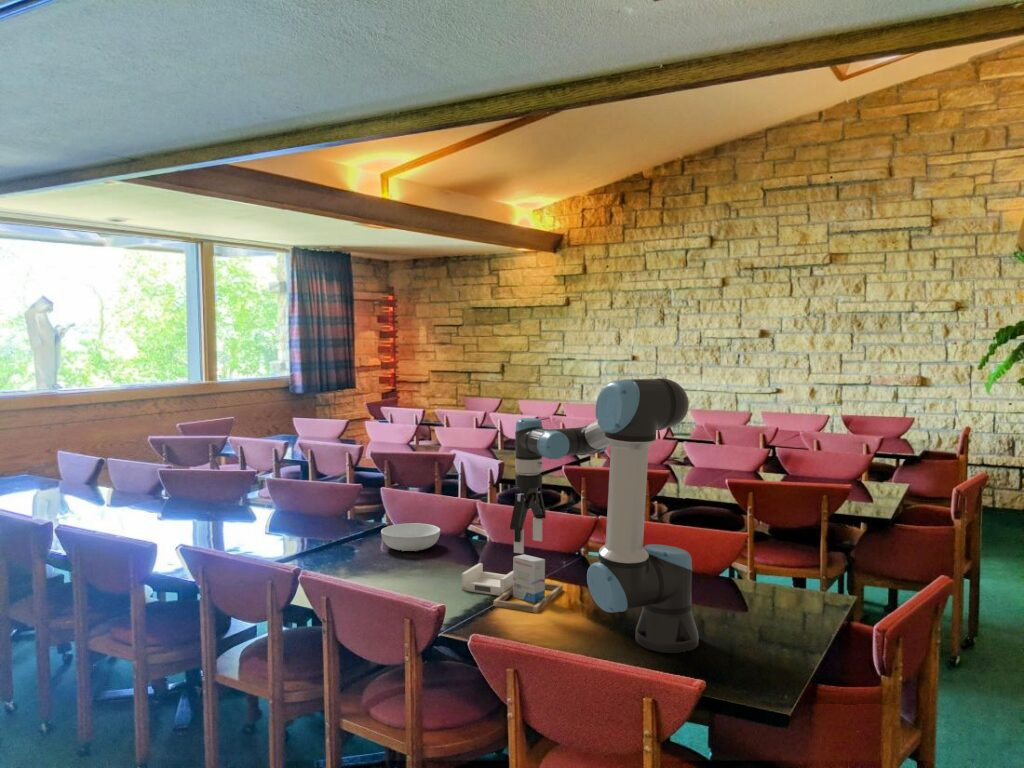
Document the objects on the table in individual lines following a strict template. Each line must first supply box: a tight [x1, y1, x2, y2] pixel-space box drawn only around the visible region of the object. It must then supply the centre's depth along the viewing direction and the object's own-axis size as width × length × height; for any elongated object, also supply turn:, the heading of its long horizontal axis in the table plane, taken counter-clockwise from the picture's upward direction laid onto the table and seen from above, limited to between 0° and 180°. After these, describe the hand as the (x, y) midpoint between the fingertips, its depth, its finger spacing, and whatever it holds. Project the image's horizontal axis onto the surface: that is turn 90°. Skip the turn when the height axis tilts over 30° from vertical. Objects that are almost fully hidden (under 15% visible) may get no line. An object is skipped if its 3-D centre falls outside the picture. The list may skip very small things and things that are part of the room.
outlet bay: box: [461, 562, 513, 597], centre depth 224 cm, size 12×14×5 cm
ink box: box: [512, 553, 546, 604], centre depth 214 cm, size 9×5×12 cm, turn 47°
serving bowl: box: [380, 522, 441, 552], centre depth 267 cm, size 21×21×7 cm
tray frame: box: [492, 582, 564, 614], centre depth 215 cm, size 20×13×2 cm, turn 156°
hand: (528, 546), depth 214 cm, fingers open, 13 cm apart
